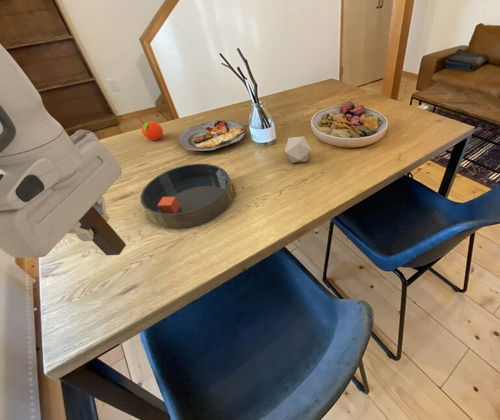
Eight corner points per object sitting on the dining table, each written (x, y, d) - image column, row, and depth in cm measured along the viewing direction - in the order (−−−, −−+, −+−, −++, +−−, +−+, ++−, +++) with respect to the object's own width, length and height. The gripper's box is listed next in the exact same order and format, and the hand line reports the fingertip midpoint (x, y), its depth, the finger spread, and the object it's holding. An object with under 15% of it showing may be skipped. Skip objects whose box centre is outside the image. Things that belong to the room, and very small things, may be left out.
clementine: (159, 144, 104) (151, 127, 100) (141, 144, 104) (132, 127, 100) (168, 134, 110) (161, 117, 105) (151, 134, 110) (143, 117, 106)
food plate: (229, 120, 120) (227, 112, 118) (258, 138, 107) (256, 130, 105) (171, 139, 108) (167, 130, 105) (196, 162, 95) (192, 154, 93)
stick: (119, 255, 49) (63, 194, 39) (106, 255, 49) (47, 195, 40) (126, 244, 51) (74, 184, 41) (114, 245, 51) (59, 185, 41)
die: (304, 171, 92) (317, 143, 89) (279, 159, 89) (292, 131, 87) (301, 166, 100) (314, 140, 97) (279, 155, 97) (291, 129, 94)
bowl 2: (392, 151, 100) (395, 131, 94) (309, 151, 100) (308, 131, 95) (380, 116, 122) (382, 98, 116) (312, 116, 122) (312, 99, 117)
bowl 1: (202, 236, 70) (196, 222, 66) (129, 218, 75) (119, 204, 71) (247, 183, 86) (244, 170, 82) (184, 171, 91) (179, 158, 88)
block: (180, 206, 77) (175, 196, 75) (175, 214, 74) (170, 205, 72) (167, 206, 77) (162, 196, 75) (162, 214, 74) (157, 205, 72)
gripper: (67, 124, 44) (113, 191, 54) (-64, 210, 29) (31, 281, 39) (106, 124, 44) (145, 190, 54) (-5, 209, 29) (75, 281, 39)
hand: (96, 229), depth 46 cm, fingers closed on stick, 2 cm apart
